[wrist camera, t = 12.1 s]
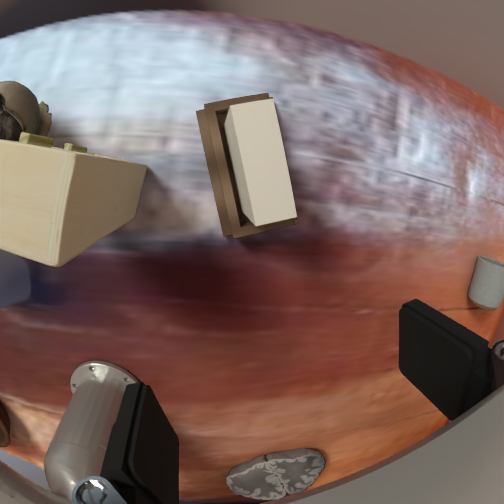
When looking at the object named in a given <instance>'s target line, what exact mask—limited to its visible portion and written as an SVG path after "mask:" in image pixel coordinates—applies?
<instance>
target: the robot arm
mask: <svg viewBox="0 0 504 504" xmlns="http://www.w3.org/2000/svg"><path fill="white" fill-rule="evenodd" d="M488 344H489V341H487V340H486V339H484V338H482V337H481V336H479V335H477V334H476V333H474V332H472V331H471V330H469V329H467V328H466V327H464V326H462V325H461V324H459V323H457V322H456V321H454V320H452V319H451V318H449V317H447V316H446V315H444V314H442V313H440V312H439V311H437V310H435V309H434V308H432V307H430V306H428V305H427V304H425V303H423V302H421V301H420V300H418V299H414V300H411V301H409V302H407V303H404V304H403V305H402V309H400V311H399V369H400V371H401V373H402V374H403V375H404V376H405V377H406V378H407V379H408V380H409V381H410V382H411V383H412V384H413V385H414V386H415V387H416V388H418V389H419V390H420V391H421V392H422V393H423V394H424V395H425V396H426V397H427V398H428V399H429V400H430V401H431V402H432V403H433V404H434V405H435V406H436V407H437V408H438V409H439V410H440V411H441V412H442V413H443V414H444V415H445V416H446V417H447V418H448V419H449V420H451V421H452V422H450V423H448V424H447V425H445V426H444V427H442V428H440V429H439V430H437V431H436V432H434V433H432V434H431V435H429V436H427V437H426V438H424V439H422V440H420V441H419V442H417V443H415V444H413V445H412V446H410V447H408V448H406V449H404V450H402V451H400V452H398V453H396V454H395V455H393V456H391V457H389V458H387V459H384V460H382V461H380V462H378V463H376V464H374V465H372V466H370V467H367V468H365V469H363V470H360V471H358V472H356V473H353V474H351V475H349V476H346V477H344V478H341V479H338V480H336V481H333V482H331V483H328V484H325V485H322V486H319V487H316V488H313V489H310V490H307V491H304V492H301V493H298V494H295V495H291V496H288V497H284V498H281V499H277V500H273V501H269V502H265V503H261V504H504V340H500V341H498V342H496V343H495V344H494V345H493V346H492V348H491V349H490V348H488ZM70 385H71V390H72V393H73V396H72V399H71V401H70V403H69V405H68V407H67V409H66V411H65V413H64V415H63V417H62V419H61V421H60V423H59V425H58V428H57V430H56V432H55V434H54V436H53V439H52V441H51V443H50V445H49V448H48V450H47V452H46V455H45V459H44V470H45V475H46V479H47V482H48V485H49V488H50V490H51V492H50V491H49V490H47V489H44V488H42V487H40V486H39V485H37V484H35V483H34V482H32V481H31V480H29V479H27V478H26V477H24V476H23V475H21V474H20V473H18V472H17V471H15V470H14V469H12V468H11V467H9V466H8V465H7V464H5V463H4V462H2V461H1V460H0V504H179V441H178V437H177V435H176V433H175V431H174V430H173V428H172V426H171V425H170V423H169V421H168V419H167V417H166V416H165V414H164V412H163V410H162V408H161V406H160V404H159V403H158V401H157V399H156V397H155V395H154V393H153V391H152V389H151V387H150V386H149V385H145V384H144V383H143V382H139V381H138V380H137V379H136V378H135V377H134V376H133V375H132V374H130V373H129V372H128V371H126V370H125V369H123V368H121V367H119V366H117V365H114V364H112V363H108V362H104V361H89V362H85V363H83V364H81V365H79V366H78V367H77V368H76V369H75V371H74V373H73V374H72V377H71V383H70Z"/></svg>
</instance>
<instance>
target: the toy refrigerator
mask: <svg viewBox="0 0 504 504" xmlns="http://www.w3.org/2000/svg"><path fill="white" fill-rule="evenodd" d="M53 141H54V139H53V138H49V137H44V136H39V135H35V134H30V133H24V132H22V133H21V135H20V139H19V142H18V141H10V140H2V139H0V249H2V250H5V251H7V252H10V253H13V254H16V255H19V256H22V257H25V258H28V259H31V260H34V261H37V262H40V263H43V264H46V265H49V266H54V267H59V266H62V265H64V264H65V263H67V262H68V261H70V260H71V259H73V258H74V257H75V256H77V255H78V254H80V253H81V252H83V251H84V250H86V249H87V248H89V247H90V246H92V245H93V244H95V243H96V242H98V241H99V240H101V239H102V238H104V237H105V236H107V235H108V234H110V233H112V232H113V231H115V230H116V229H118V228H120V227H121V226H123V225H124V224H126V223H128V222H129V221H131V220H133V219H134V218H135V215H136V210H137V206H138V202H139V198H140V194H141V190H142V186H143V182H144V178H145V174H146V170H147V165H143V164H139V163H134V162H130V161H125V160H121V159H116V158H112V157H107V156H102V155H97V154H93V153H87V152H86V151H87V148H86V147H82V146H78V145H74V144H69V143H65V146H64V148H57V147H52V144H53Z"/></svg>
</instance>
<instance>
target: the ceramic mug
mask: <svg viewBox="0 0 504 504" xmlns="http://www.w3.org/2000/svg"><path fill="white" fill-rule="evenodd" d="M503 297H504V263H502V262H499V261H496V260H494V259H491V258H488V257H484V256H478V258H477V262H476V266H475V270H474V274H473V277H472V281H471V284H470V288H469V293H468V298H469V300H470V301H471V302H472V303H473V304H475V305H476V306H478V307H480V308H483V309H486V310H491V311H493V310H496V309H498V307H499V306H500V304H501V302H502V300H503Z"/></svg>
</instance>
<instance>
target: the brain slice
mask: <svg viewBox="0 0 504 504" xmlns="http://www.w3.org/2000/svg"><path fill="white" fill-rule="evenodd" d="M325 463H326V460H325V458H323V456H322V454H321V453H320V452H318V451H316V450H313V449H307V448H306V449H305V448H300V449H295V450H287V451H278V452H274V453H270V454H267V455H261V456H257V457H255V458H253V459H252V460H250V461H247V462H244V463H242V464H240V465H238V466H236V467H234V468H233V469H231V471H230V472H229V473H228V474H227V476H226V484H227V486H228V487H229V489H230V490H231V491H232V492H233V493H234V494H235V495H241V496H244V497H248V498H253V499H263V500H271V499H281V498H283V497H285V496H286V495H287V493H288V494H295V493H298V492H302V491H304V490H306V489H307V487H308V486H311V485H312V484H313V483H314V482H315V479H316V478H318V477H319V475H320V473H321V472H322V470H323V469H324V468H325ZM286 492H287V493H286Z"/></svg>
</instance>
